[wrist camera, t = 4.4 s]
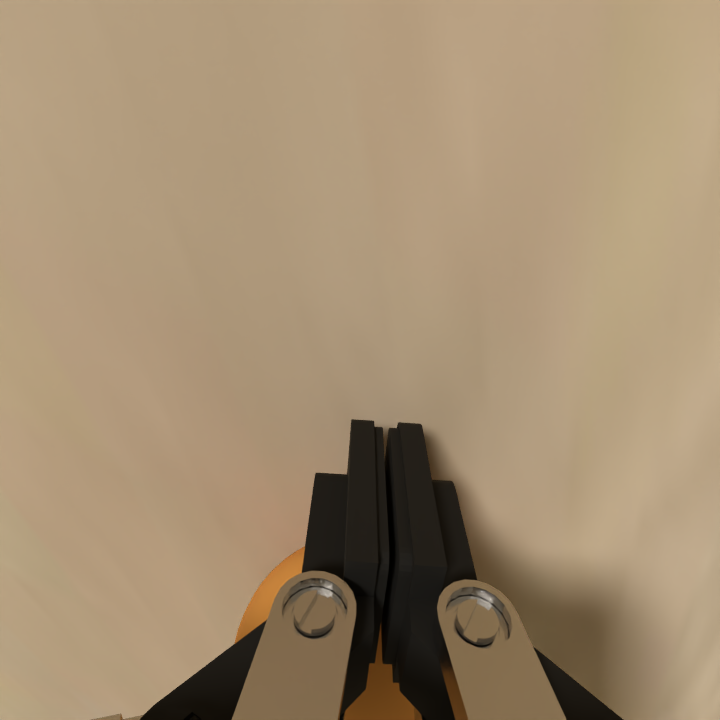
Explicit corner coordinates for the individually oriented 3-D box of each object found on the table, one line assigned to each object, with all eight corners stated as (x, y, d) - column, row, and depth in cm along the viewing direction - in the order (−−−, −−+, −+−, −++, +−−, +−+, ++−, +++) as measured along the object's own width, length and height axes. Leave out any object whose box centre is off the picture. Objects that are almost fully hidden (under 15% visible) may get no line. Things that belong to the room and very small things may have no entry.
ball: (519, 842, 8) (432, 851, 12) (494, 518, 12) (437, 605, 16) (171, 767, 8) (202, 801, 12) (271, 473, 12) (269, 570, 16)
